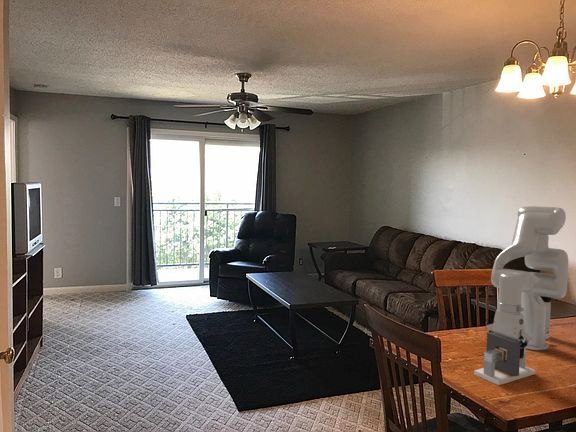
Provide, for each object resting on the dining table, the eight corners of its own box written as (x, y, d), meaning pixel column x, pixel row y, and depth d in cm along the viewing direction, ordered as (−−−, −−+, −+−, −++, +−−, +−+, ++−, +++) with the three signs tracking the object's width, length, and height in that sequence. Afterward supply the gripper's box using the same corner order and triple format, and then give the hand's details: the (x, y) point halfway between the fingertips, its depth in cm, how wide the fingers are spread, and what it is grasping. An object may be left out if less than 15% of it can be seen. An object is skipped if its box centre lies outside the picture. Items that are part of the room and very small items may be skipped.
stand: (509, 364, 175) (510, 347, 174) (534, 374, 166) (535, 356, 165) (474, 374, 165) (474, 357, 165) (498, 385, 156) (499, 366, 156)
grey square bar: (517, 351, 171) (518, 342, 171) (526, 354, 168) (526, 345, 168) (483, 360, 162) (483, 351, 162) (491, 363, 159) (492, 354, 159)
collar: (489, 363, 170) (490, 332, 169) (519, 375, 160) (520, 342, 159) (485, 364, 169) (487, 332, 169) (515, 376, 159) (516, 342, 158)
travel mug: (552, 339, 203) (554, 295, 202) (536, 338, 205) (538, 294, 203) (547, 334, 209) (549, 292, 208) (531, 333, 211) (533, 291, 209)
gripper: (538, 312, 158) (536, 360, 160) (495, 300, 174) (493, 344, 175) (525, 315, 155) (523, 364, 156) (481, 303, 170) (480, 348, 171)
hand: (507, 353), depth 165 cm, fingers open, 9 cm apart
